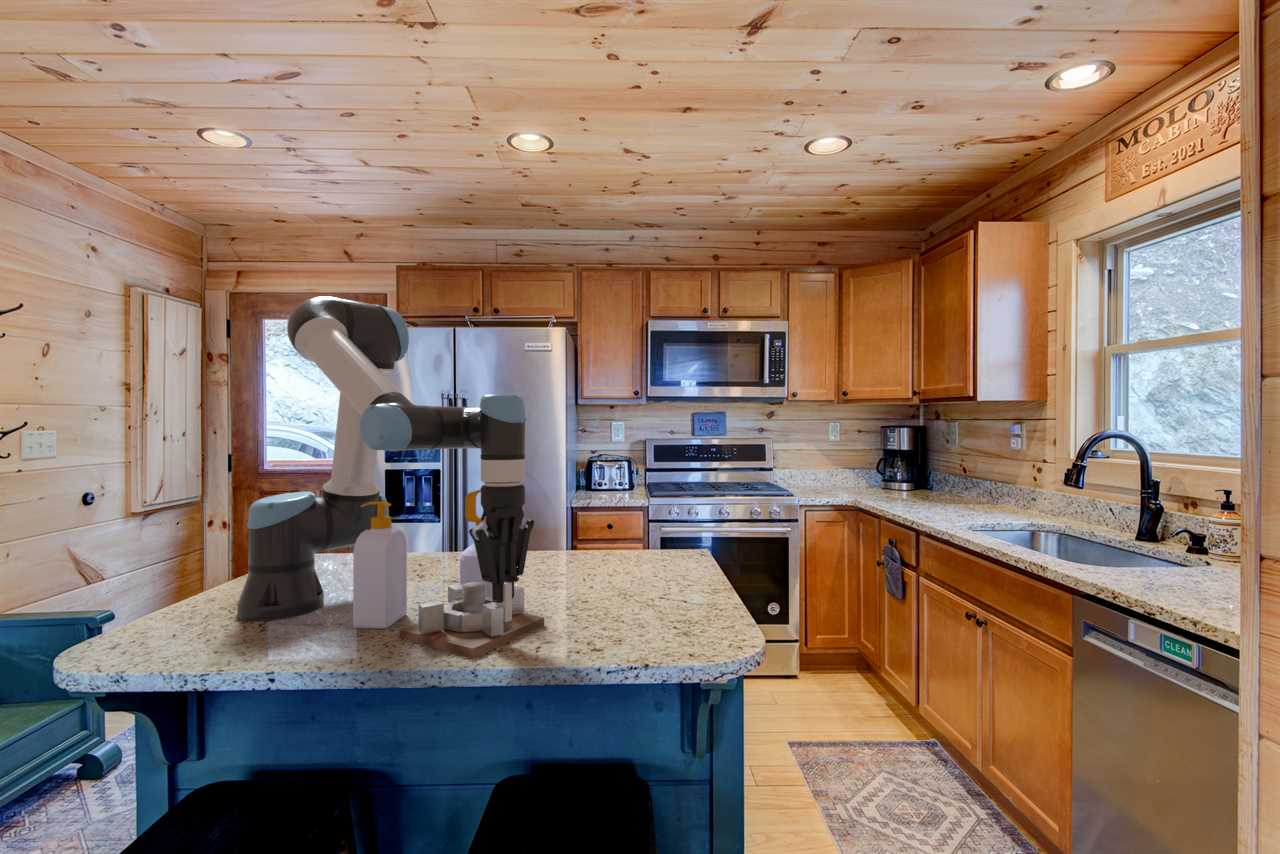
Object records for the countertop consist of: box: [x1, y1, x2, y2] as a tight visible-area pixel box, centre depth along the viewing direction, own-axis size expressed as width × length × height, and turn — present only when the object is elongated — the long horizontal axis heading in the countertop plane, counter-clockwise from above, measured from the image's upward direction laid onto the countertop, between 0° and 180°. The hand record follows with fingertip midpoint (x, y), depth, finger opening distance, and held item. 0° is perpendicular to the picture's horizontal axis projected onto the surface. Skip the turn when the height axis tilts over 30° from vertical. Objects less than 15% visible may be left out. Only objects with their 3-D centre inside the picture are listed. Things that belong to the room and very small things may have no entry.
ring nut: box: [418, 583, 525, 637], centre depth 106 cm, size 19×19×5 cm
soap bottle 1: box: [352, 501, 408, 629], centre depth 112 cm, size 9×7×23 cm
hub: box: [398, 582, 545, 659], centre depth 106 cm, size 18×18×8 cm
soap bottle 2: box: [459, 488, 492, 598], centre depth 125 cm, size 9×9×25 cm
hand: (503, 619), depth 101 cm, fingers closed
